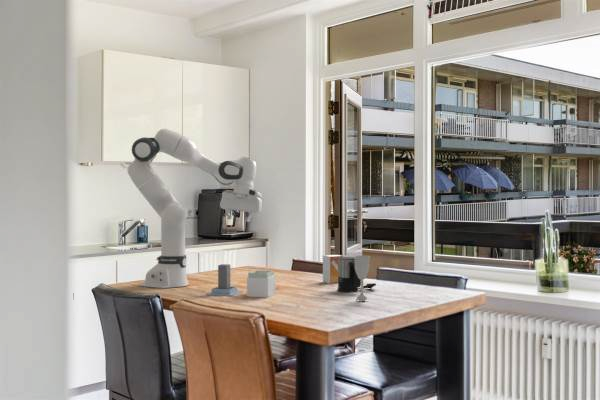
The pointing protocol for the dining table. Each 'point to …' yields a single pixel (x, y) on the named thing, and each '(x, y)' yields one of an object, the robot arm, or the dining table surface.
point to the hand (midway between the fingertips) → (238, 220)
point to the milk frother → (349, 275)
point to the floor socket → (224, 291)
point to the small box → (330, 268)
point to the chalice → (362, 272)
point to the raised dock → (260, 283)
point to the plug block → (224, 276)
